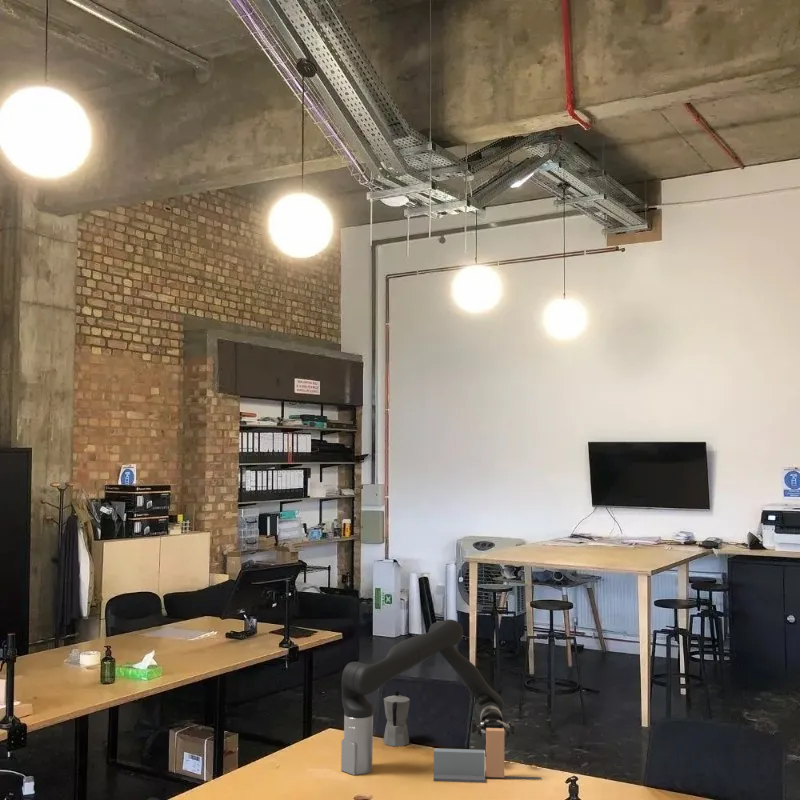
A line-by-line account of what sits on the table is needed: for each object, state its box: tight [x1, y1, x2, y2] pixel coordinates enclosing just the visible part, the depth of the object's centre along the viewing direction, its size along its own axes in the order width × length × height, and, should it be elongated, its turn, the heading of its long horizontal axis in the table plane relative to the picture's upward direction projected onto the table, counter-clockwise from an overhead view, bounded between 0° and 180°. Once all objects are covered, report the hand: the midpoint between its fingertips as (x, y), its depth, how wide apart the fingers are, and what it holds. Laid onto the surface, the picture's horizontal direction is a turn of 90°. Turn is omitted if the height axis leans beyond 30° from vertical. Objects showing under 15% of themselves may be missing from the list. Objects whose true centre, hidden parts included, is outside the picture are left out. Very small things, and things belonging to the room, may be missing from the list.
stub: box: [485, 728, 505, 778], centre depth 269 cm, size 6×3×14 cm, turn 86°
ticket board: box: [432, 747, 542, 784], centre depth 269 cm, size 34×10×8 cm, turn 86°
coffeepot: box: [383, 689, 411, 748], centre depth 302 cm, size 15×9×18 cm, turn 175°
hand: (494, 733), depth 276 cm, fingers open, 8 cm apart
